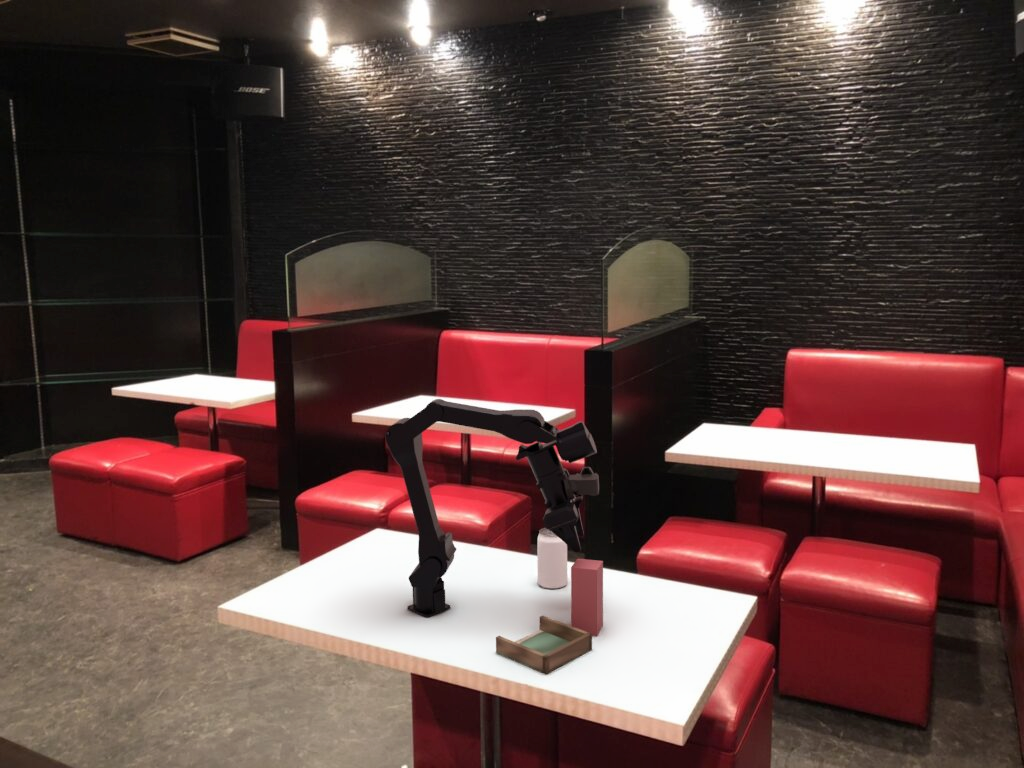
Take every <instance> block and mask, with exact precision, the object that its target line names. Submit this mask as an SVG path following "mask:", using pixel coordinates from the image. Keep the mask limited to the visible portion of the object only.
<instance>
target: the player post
mask: <svg viewBox="0 0 1024 768" xmlns="http://www.w3.org/2000/svg"><path fill="white" fill-rule="evenodd" d="M570 587H571V588H570V594H571V595H570V600H571V601H570V604H571V605H570V608H571V609H570V611H571V613H570V616H571V620H570V622H571V625H570V626H572V627H575V628H578V629H580V630H583V631H586V632H588V633H591V634H592V637H598V636H599V634H600V632H601V630H602V628H603V626H604V561H603V560H595V559H587V558H586V559H585V558H577V559H576V560H575V561H574V563H573V564H572V566H570Z"/></svg>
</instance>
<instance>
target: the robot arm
mask: <svg viewBox="0 0 1024 768" xmlns="http://www.w3.org/2000/svg"><path fill="white" fill-rule="evenodd" d="M438 422H439V423H445V424H451V425H457V426H462V427H469V428H473V429H479V430H485V431H491V432H495V433H497V434H500V435H502V436H503V437H506V438H508V439H511V440H513V441H516V442H519V443H521V444H520V445H519V446H518V451H517V452H518V453H517V454H516V456H515V460H516V461H520V460H522V459H524V458H526V459H527V461H528V464H529V466H530V468H531V471H532V473H533V475H534V478H535V480H536V484H535V485H536V488H537V490H540V492H541V493H542V497H543V498H544V500H545V501H544V506H545V509H546V510H545V514H544V516H543V518H542V523H543V524H544V528H546V529H549V531H552V532H553V533H554V534H555V535H557V536H558V537H559V538H560V539H561V540H562V541H564V542H565V543H566V544H567V547H568V548H570V549H571V550H572V551H573V552H574V553H576V554H577V553H580V552H581V551H582V548H581V543H580V540H579V538H582V537H584V535H585V533H584V528H583V523H582V519H581V513H580V506H581V504H582V502H583V496H586V495H588V496H591V497H592V496H598V495H599V494H600V481H599V480H600V479H599V478H600V477H599V474H598V473H597V472H594V471H593V469H592V468H591V466H584V467H582V469H581V472H580V473H576V474H570V473H569V471H568V469H566V468H564V467H563V465H562V462H561V460H562V461H564V462H567V461H568V464H572V463H575V462H577V461H580V460H582V459H585V458H588V457H590V456H592V455H595V454H597V453H598V451H597V446H596V443H595V441H594V437H593V436H592V434H591V432H590V431H589V429H588V427H587V426H586V424H585V423H584V421H583V420H580V421H577V422H575V423H574V424H573V425H570V426H568V427H565V428H563V429H560V428H558V427H556V426H555V425H554V424H551V423H550V422H548V421H546V420H545V418H544V417H543V415H542V413H541V412H539V411H538V410H535V409H509V410H498V409H492V408H487V407H480V406H475V405H469V404H462V403H459V402H452V401H447V400H444V399H442V398H437V399H433V400H432V401H430V402H429V403H428V404H427V405H426V407H424V408H423V409H422V410H420V411H419V412H417V413H416V414H415V415H413V416H411V417H404V418H401V419H399V420H398V421H396V422H395V423H393V424H392V425H390V426H389V427H388V428H387V430H386V432H385V435H384V438H385V443H386V446H387V447H388V450H389V452H390V454H391V456H392V458H393V459H394V461H395V462H396V463H397V465H398V466H399V467H400V470H401V472H402V477H403V481H404V484H405V487H406V492H407V496H408V499H409V503H410V507H411V510H412V515H413V518H414V521H415V526H416V530H417V534H418V548H417V551H418V552H417V553H418V564H417V565H416V566H415V567H414V569H413V570H412V572H411V574H410V575H409V577H408V581H409V583H410V586H411V587H412V604H410V605H407V606H406V609H407V610H408V611H411V612H413V613H416V614H418V615H421V616H423V617H425V618H429V617H432V616H434V615H437V614H440V613H441V612H444V611H446V610H449V609H451V604H448V603H447V602H446V589H445V581H444V580H443V578H442V577H443V576H444V575H446V573H447V571H448V570H449V568H450V566H451V565H452V563H453V562H454V560H455V553H456V551H457V548H456V546H455V544H454V542H453V534H452V532H451V531H449V532H447V533H445V532H444V531H443V529H442V528H441V526H440V523H439V519H438V515H437V511H436V508H435V505H434V500H433V496H432V494H431V490H430V485H429V481H428V479H427V478H428V477H427V474H426V471H425V466H424V462H423V449H424V448H423V445H424V442H423V433H424V432H425V431H426V430H427V429H429V428H430V427H431V426H433V425H434V424H436V423H438ZM525 444H526V445H525ZM555 447H556V448H555ZM556 450H557V451H556ZM557 452H558V453H557ZM558 454H559V455H558ZM576 496H577V497H576Z"/></svg>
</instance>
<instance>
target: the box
mask: <svg viewBox="0 0 1024 768" xmlns="http://www.w3.org/2000/svg"><path fill="white" fill-rule="evenodd" d="M592 650H593V636H592V634H591V633H588V632H586V631H583V630H580V629H578V628H575V627H572V626H571V625H569V624H566V623H564V622H561V621H559V620H555V619H553V618H550V617H548V616H544V615H541V616H539V630H536V631H534V632H532V633H530V634H528V635H526V636H523V637H522V638H520V639H518V640H515V641H513V640H512V639H511V640H510V639H508V638H506V637H503V636H501V635H498V636H495V654H497V655H500V656H502V655H503V656H502V657H505V658H507V657H508V659H509V658H510V659H509V660H512V661H514V660H515V661H514V662H516V661H517V663H519V664H522V665H523V664H524V666H525V667H529V668H531V669H533V670H536V671H538V672H540V673H542V674H545V675H547V674H549V673H552V672H554V671H555V670H557V669H559V668H560V667H562V666H564V665H566V664H568V663H570V662H572V661H573V660H575V659H577V658H580V657H581V656H582V655H585V654H586V653H588V652H590V651H592Z"/></svg>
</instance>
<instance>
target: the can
mask: <svg viewBox="0 0 1024 768" xmlns="http://www.w3.org/2000/svg"><path fill="white" fill-rule="evenodd" d="M538 532H539V533H538V536H537V544H536V545H537V546H536V547H537V551H536V552H537V556H536V557H537V584H538V585H539V587H541V588H543V589H546V590H547V589H548V590H559V589H562V588H564V587H566V585H567V584H568V545H567V544H566V543H565V542H564V541H562V540H561V539H560V538H559V537H558V536H557V535H555V534H554V533H553V532H552V531H549V529H546V527H542V528H541V529H539V531H538ZM558 588H559V589H558Z"/></svg>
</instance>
